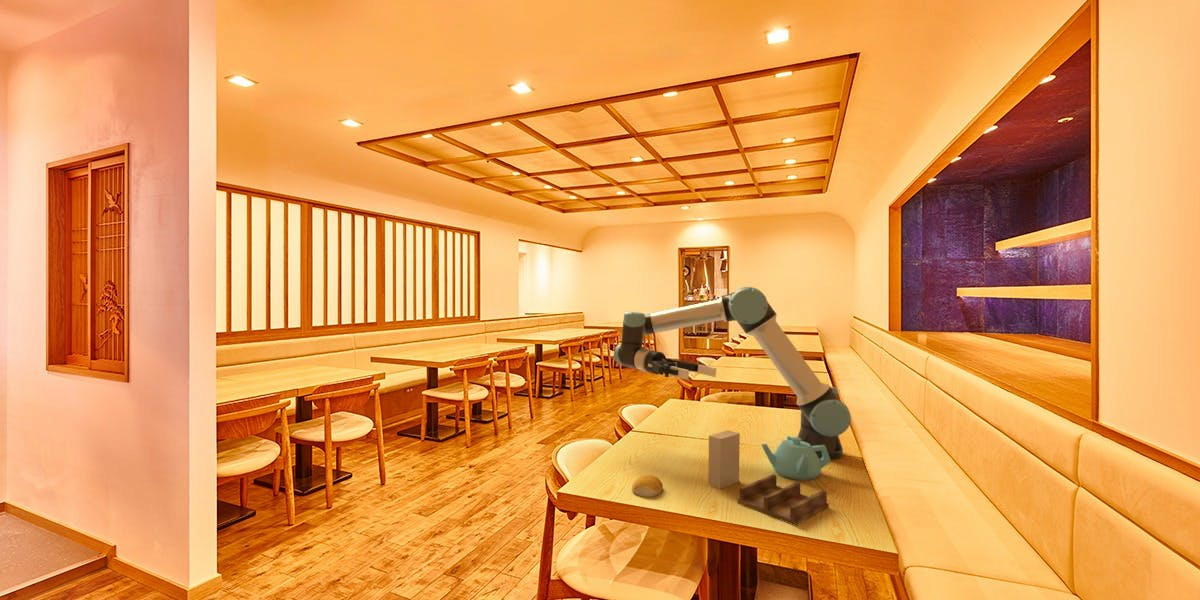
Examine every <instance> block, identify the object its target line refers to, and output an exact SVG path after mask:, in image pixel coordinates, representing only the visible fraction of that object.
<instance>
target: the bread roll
mask: <svg viewBox="0 0 1200 600" xmlns="http://www.w3.org/2000/svg"><path fill="white" fill-rule="evenodd" d="M663 488H664V485H663V482H662V480H661V479H660V478H659V477H657V476H655V475H651V474H645V475H641V476H638V477H637V478H636V479H634V481H633V483H632V484H631V491H632V492H633V493H634V495H635V494H636V495H637V496H640V497H647V498H652V497H653V498H654V497H656V496H658V495H660V494H661V492H662V490H663Z"/></svg>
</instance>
